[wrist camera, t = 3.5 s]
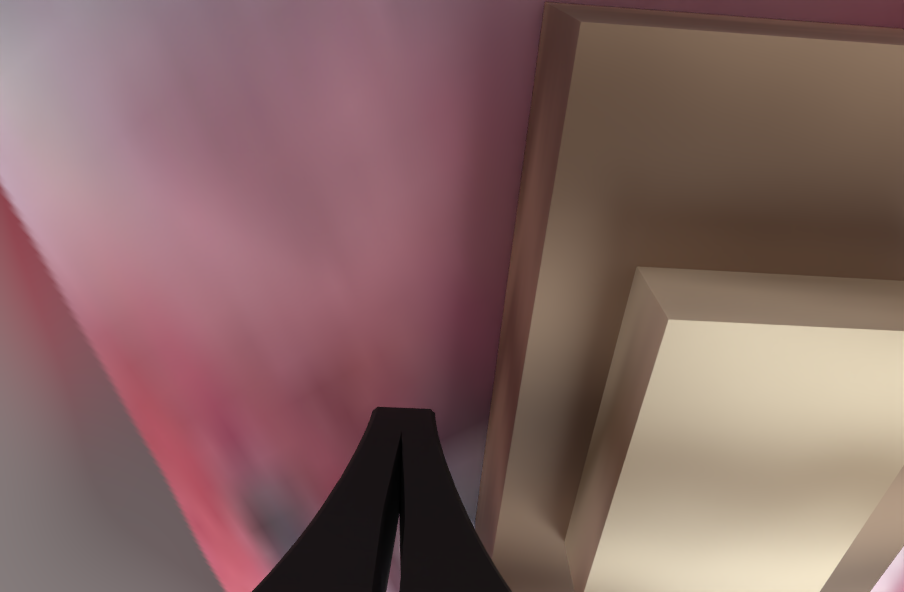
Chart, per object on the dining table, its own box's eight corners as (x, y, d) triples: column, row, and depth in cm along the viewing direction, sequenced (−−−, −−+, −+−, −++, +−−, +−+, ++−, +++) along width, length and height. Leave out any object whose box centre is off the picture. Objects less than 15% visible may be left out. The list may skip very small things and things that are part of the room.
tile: (767, 548, 17) (803, 616, 15) (564, 541, 17) (577, 610, 15) (914, 281, 12) (989, 335, 11) (636, 266, 12) (668, 319, 10)
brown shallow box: (777, 533, 23) (836, 636, 19) (474, 523, 22) (480, 627, 19) (1050, 39, 14) (1254, 71, 10) (544, 1, 13) (581, 21, 10)
